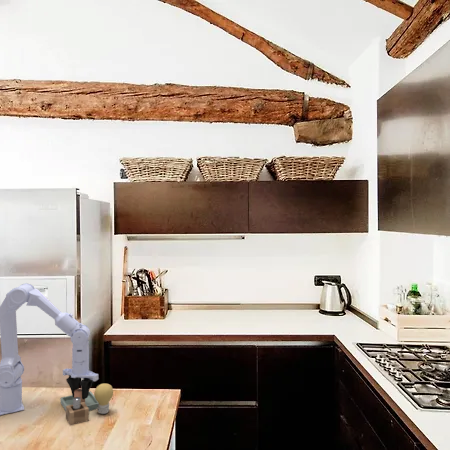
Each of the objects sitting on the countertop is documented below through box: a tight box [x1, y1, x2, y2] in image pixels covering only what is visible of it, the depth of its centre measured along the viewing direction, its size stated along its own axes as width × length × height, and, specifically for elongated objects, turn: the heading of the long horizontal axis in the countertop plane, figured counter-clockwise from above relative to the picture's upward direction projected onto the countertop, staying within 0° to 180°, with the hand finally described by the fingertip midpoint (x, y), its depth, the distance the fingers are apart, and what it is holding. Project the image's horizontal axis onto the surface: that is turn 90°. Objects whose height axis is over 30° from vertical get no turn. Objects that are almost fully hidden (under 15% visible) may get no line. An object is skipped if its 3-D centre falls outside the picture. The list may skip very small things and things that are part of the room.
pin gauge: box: [73, 397, 81, 411], centre depth 140 cm, size 2×2×7 cm
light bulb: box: [93, 383, 114, 415], centre depth 145 cm, size 6×6×10 cm
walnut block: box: [65, 402, 90, 426], centre depth 140 cm, size 6×6×4 cm
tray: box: [59, 390, 99, 412], centre depth 151 cm, size 12×11×2 cm
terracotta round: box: [74, 387, 85, 403], centre depth 150 cm, size 4×4×5 cm
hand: (80, 397), depth 151 cm, fingers closed on terracotta round, 4 cm apart
